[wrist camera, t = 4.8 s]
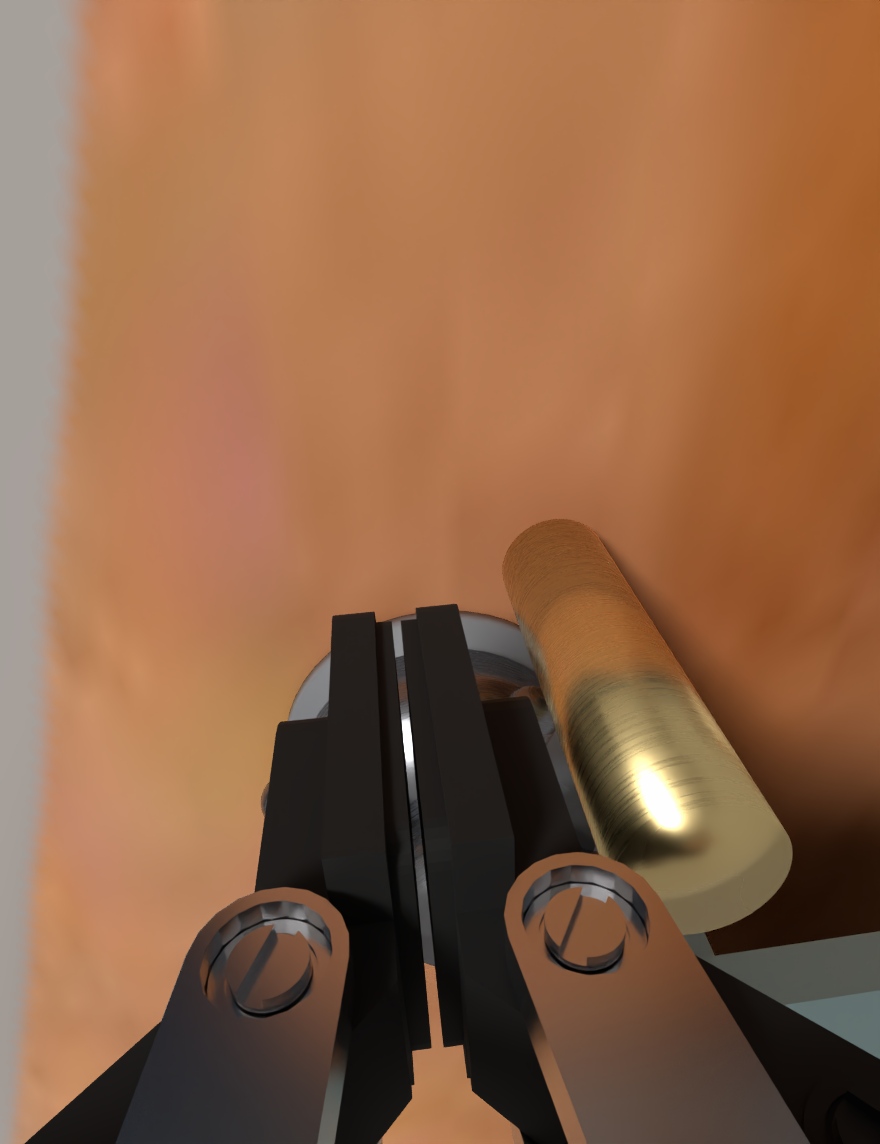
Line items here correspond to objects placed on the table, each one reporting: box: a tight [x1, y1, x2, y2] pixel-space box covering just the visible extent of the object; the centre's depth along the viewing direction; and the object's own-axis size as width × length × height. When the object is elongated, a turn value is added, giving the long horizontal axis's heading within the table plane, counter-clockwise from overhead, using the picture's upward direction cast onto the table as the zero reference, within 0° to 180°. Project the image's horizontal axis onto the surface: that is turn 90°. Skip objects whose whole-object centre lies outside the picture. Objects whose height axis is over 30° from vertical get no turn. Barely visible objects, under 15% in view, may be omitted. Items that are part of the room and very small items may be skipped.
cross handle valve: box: [261, 519, 793, 966], centre depth 13 cm, size 10×8×7 cm
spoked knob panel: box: [288, 611, 880, 1059], centre depth 19 cm, size 22×18×5 cm
